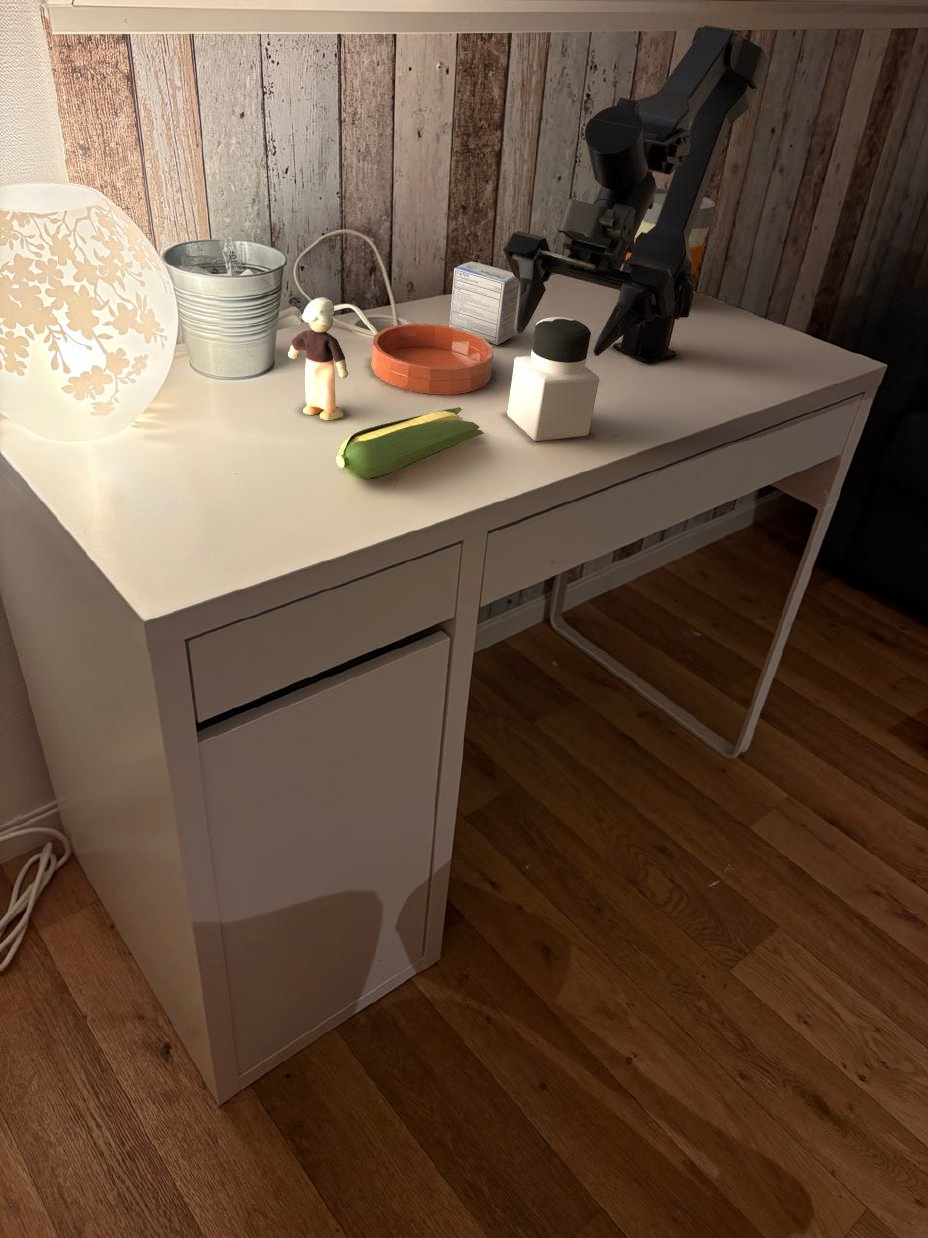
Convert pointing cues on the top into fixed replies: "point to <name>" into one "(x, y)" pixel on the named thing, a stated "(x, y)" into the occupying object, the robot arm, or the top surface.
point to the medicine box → (484, 301)
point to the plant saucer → (432, 358)
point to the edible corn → (403, 443)
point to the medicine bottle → (554, 382)
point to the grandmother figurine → (320, 359)
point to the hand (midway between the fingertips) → (556, 342)
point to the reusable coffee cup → (698, 230)
